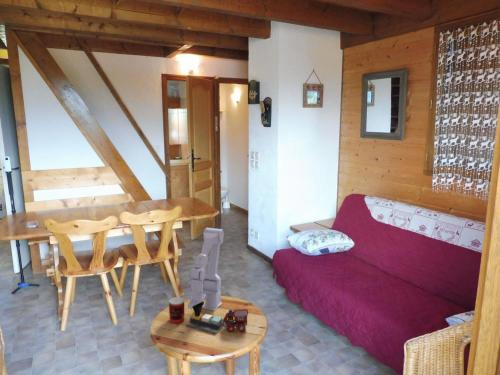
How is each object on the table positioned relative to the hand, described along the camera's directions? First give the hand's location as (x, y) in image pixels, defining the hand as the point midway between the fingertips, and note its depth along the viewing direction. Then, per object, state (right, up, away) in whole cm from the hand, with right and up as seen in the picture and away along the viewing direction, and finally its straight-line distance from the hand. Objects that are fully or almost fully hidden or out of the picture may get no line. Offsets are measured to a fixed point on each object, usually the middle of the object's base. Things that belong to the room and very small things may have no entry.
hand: (197, 315), depth 194 cm
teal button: (+10, -2, -4) cm, 11 cm away
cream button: (+5, -2, -2) cm, 6 cm away
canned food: (-11, -3, +2) cm, 12 cm away
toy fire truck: (+20, -5, -5) cm, 21 cm away
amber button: (0, -2, 0) cm, 2 cm away
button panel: (+5, -4, -1) cm, 7 cm away
